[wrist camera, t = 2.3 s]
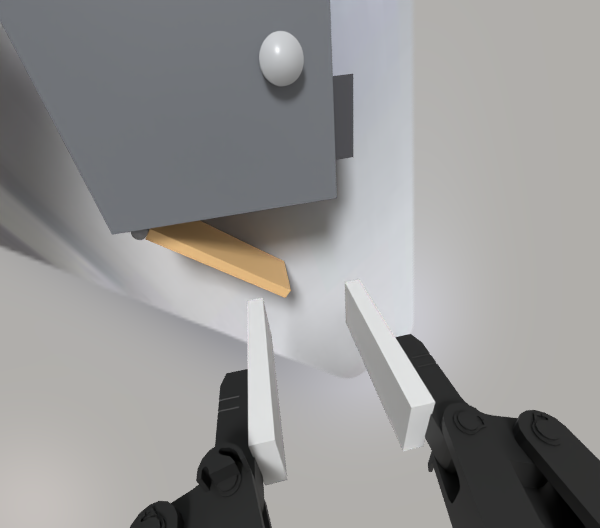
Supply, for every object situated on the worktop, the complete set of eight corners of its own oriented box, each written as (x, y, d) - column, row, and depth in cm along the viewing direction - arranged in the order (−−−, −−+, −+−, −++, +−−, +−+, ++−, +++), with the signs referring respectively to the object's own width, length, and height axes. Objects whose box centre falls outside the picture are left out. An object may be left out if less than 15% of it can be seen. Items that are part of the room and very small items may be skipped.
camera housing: (147, 198, 26) (107, 239, 18) (78, 32, 19) (-26, -6, 12) (330, 169, 27) (361, 198, 20) (322, 7, 21) (364, -40, 13)
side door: (153, 206, 26) (129, 236, 21) (157, 198, 26) (133, 225, 20) (279, 266, 32) (286, 301, 26) (283, 259, 31) (291, 293, 26)
